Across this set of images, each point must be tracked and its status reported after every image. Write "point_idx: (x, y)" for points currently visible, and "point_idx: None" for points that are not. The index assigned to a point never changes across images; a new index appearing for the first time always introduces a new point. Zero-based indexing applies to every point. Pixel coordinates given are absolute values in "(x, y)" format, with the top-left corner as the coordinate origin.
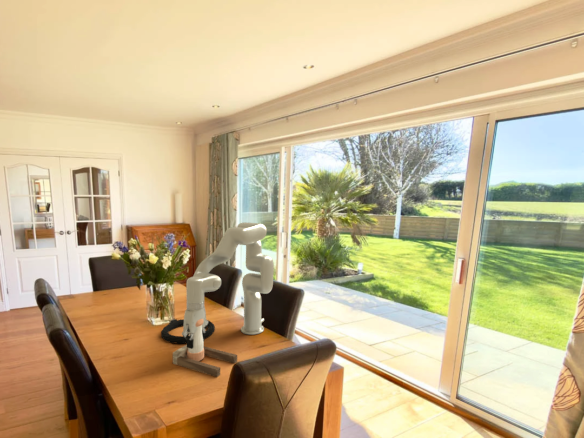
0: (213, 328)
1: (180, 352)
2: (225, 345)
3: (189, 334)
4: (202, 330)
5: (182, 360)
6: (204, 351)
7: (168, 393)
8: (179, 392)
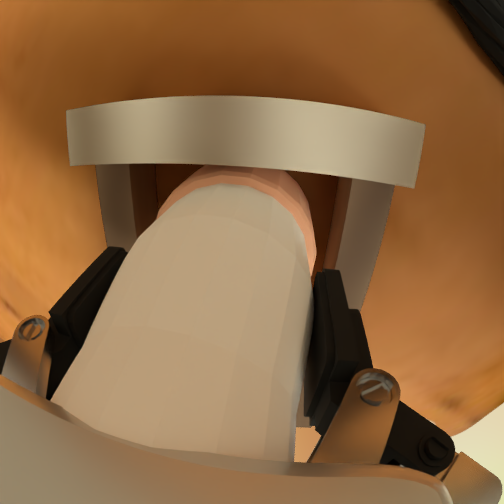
0: None
1: (109, 162)
2: (475, 286)
3: (74, 361)
4: (309, 458)
5: (104, 210)
6: (332, 253)
7: (11, 279)
8: (34, 308)
